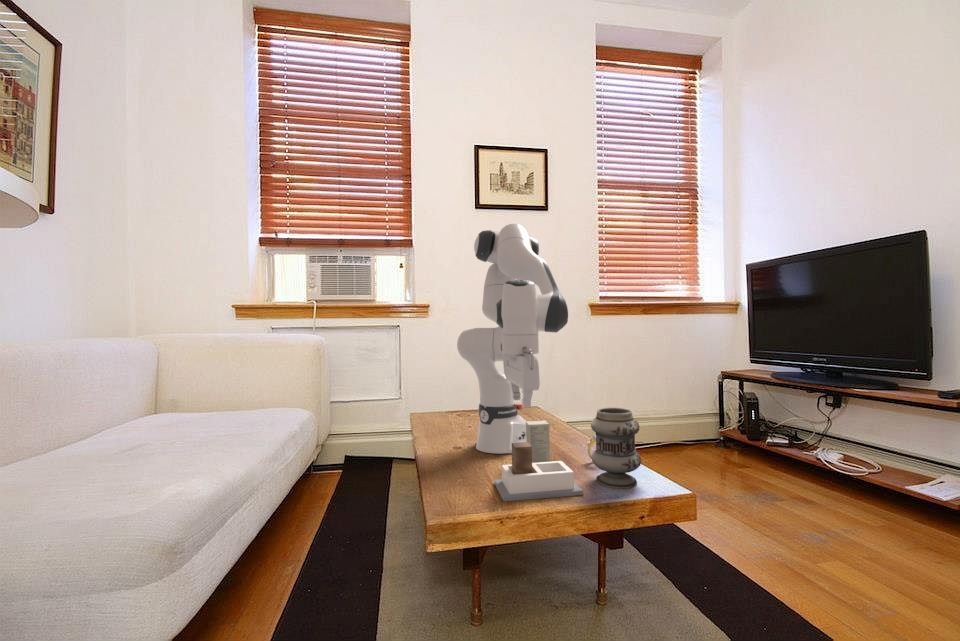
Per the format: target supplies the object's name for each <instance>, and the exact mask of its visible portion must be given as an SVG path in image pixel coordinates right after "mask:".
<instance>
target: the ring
mask: <svg viewBox="0 0 960 641" xmlns="http://www.w3.org/2000/svg"><path fill="white" fill-rule="evenodd" d="M594 444H596V433H595V435H592V436H591V437H590V438H589V439H588V442H586V453H587V455H588V457H589V458H590V459H591V460H592V458H591V456H592V453H591V447H592V446H593V445H594Z"/></svg>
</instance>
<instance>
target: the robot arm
mask: <svg viewBox="0 0 960 641" xmlns="http://www.w3.org/2000/svg"><path fill="white" fill-rule="evenodd" d="M539 244H540V243H539V242H538V240H537V239H536V238H534V237H531V236H529V234H528V231H527V230H526V228H524V227H523V225H521V224H518V223H508V224H506V225H505V226H503V227H502V228H501V229H500V230H499V231H493V230H491V229H489V230H487V229H486V230H482V231H481V232H479V233H478V235H477V236H476V238H475V241H474V245H473V248H474V249H473V250H474V254H475V257H476V259H478V260H479V261H482V262H484V263H487V262H488V263H492V264H491V265H490V266H489V267H488V269H487V272H486V274H485V279H484V285H483V293H482V294H483V296H482V305H481V306H482V308H481V309H482V313H483V315H484V316H485V317H486V318H487V319H488V320H490V321H492V322H494V323H495V324H496V325H498V326H497V327H475V328H470V329H466V330H463V331H462V332H461V333H460V335H459V336H458V338H457V341H456V349H457V351H458V354H459V355H460V356H461V358H462V359H463V360H464V361H466V362H467V363H468V364H469V365H470V366H471V368H472V369H473V371H474V373H475V374H476V377H477V381H478V388H479V404H478V415H479V416H478V417H479V422H478V423H479V424H478V432H477V439H476V444H475V449H476V450H477V451H479V452H482V453H486V454H487V453H488V454H501V455H502V454H512V443H517V442H526V421H527V420H526V419H525V418H523V417H522V416H521V415H520V414H519V412H518V411H522V410H523V409H528V408H529V409H530V408H531V407H532V398H533V391H538V390H539V389H540V386H541V385H540V383H541V382H540V368H539V367H540V366H539V360H538V357H537V356H535V355H537V354H539V353H540V351H539V348H540V347H539V332H545V333H555V334H556V333H558V332H559V331H561V330H562V329H564V327H565V326H566V325H567V324H568V322H569V308H568V305H567V301H566V299H565V298H564V296H563V295H562V293H561V291H560V289H559V287H558V285H557V283H556V280H555V278H554V275H553V273H552V271H551V269H550V267H549V265H548V263H547V261H546V260H545V259H544V258H542V257H540V245H539ZM536 286H537V287H538V288H539V290H540V293H541V294H537V290H536ZM496 362H502V363H503V371H502V370H499V369H498V368H497V366H496ZM520 389H521V391H522V392H521V391H520ZM521 393H522V399H521ZM520 400H521V403H516V404H515V401H520Z"/></svg>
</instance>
